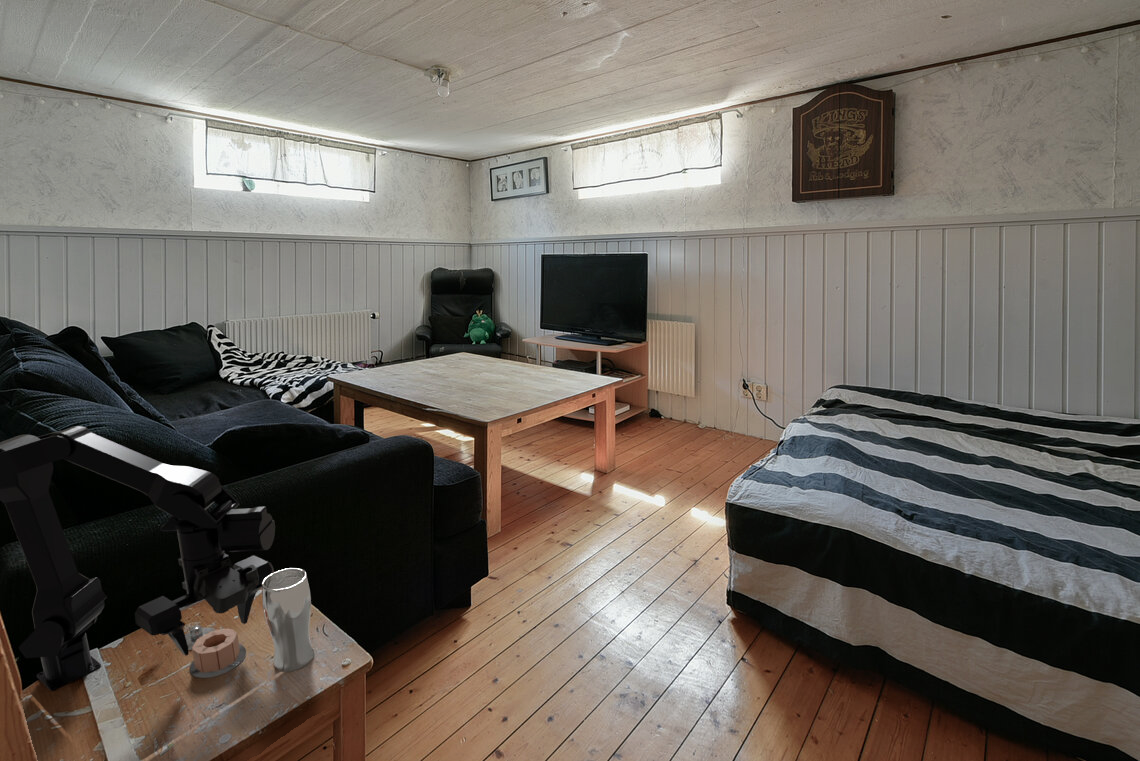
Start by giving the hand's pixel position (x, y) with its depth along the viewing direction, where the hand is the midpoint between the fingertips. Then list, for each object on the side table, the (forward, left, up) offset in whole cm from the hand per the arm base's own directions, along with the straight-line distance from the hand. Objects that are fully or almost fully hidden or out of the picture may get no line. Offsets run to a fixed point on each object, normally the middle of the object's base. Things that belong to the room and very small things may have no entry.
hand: (216, 638), depth 94 cm
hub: (0, 0, -5) cm, 5 cm away
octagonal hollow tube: (0, 0, -4) cm, 4 cm away
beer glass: (+10, +7, -5) cm, 13 cm away
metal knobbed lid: (-9, +1, -5) cm, 10 cm away
